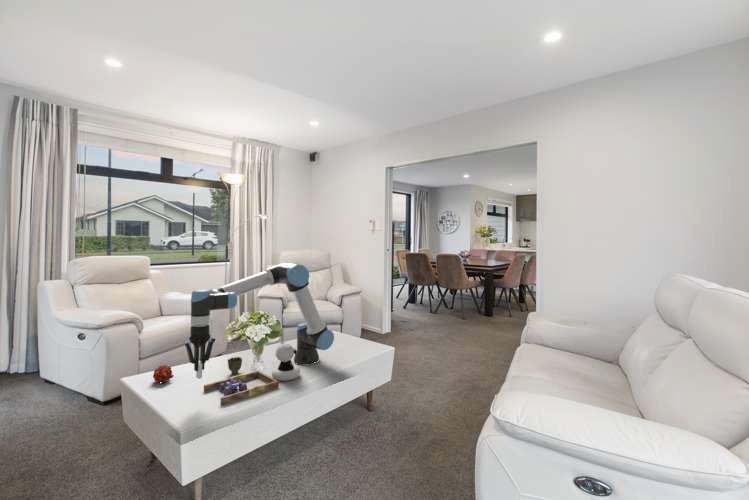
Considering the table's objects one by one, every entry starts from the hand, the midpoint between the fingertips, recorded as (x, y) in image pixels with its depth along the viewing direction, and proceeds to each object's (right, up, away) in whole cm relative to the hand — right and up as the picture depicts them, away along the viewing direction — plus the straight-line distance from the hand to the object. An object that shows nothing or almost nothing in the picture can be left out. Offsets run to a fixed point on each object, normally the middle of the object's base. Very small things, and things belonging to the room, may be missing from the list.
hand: (199, 377), depth 156 cm
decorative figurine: (+31, -11, +31) cm, 45 cm away
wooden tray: (+14, -11, +14) cm, 23 cm away
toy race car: (+10, -12, +12) cm, 19 cm away
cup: (+2, -11, +35) cm, 37 cm away
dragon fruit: (-30, -11, +23) cm, 39 cm away
